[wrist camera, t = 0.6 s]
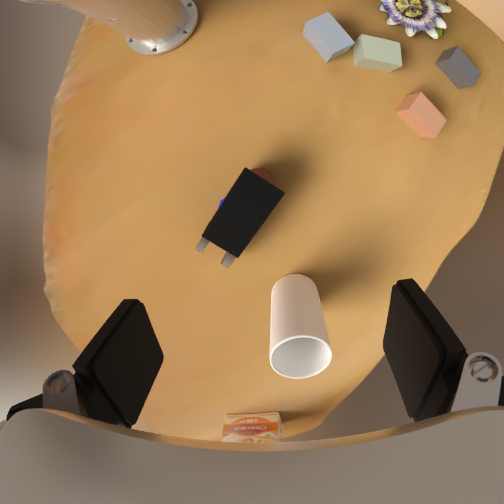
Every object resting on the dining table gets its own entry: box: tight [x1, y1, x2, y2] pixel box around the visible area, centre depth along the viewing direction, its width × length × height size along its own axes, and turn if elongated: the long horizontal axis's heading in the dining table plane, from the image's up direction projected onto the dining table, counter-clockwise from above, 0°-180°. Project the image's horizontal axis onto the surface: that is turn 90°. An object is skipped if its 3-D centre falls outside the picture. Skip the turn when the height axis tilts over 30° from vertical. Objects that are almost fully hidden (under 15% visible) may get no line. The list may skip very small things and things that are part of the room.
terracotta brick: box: [395, 92, 447, 138], centre depth 32 cm, size 6×4×5 cm, turn 56°
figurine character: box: [196, 167, 285, 268], centre depth 40 cm, size 7×8×15 cm
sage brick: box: [353, 34, 402, 72], centre depth 29 cm, size 6×4×5 cm, turn 91°
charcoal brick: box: [435, 46, 481, 88], centre depth 27 cm, size 6×4×5 cm, turn 56°
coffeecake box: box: [221, 412, 282, 443], centre depth 56 cm, size 15×7×20 cm, turn 103°
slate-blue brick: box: [302, 12, 355, 63], centre depth 29 cm, size 6×4×5 cm, turn 36°
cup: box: [270, 274, 332, 379], centre depth 41 cm, size 8×8×16 cm
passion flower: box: [378, 0, 451, 39], centre depth 22 cm, size 13×12×14 cm
